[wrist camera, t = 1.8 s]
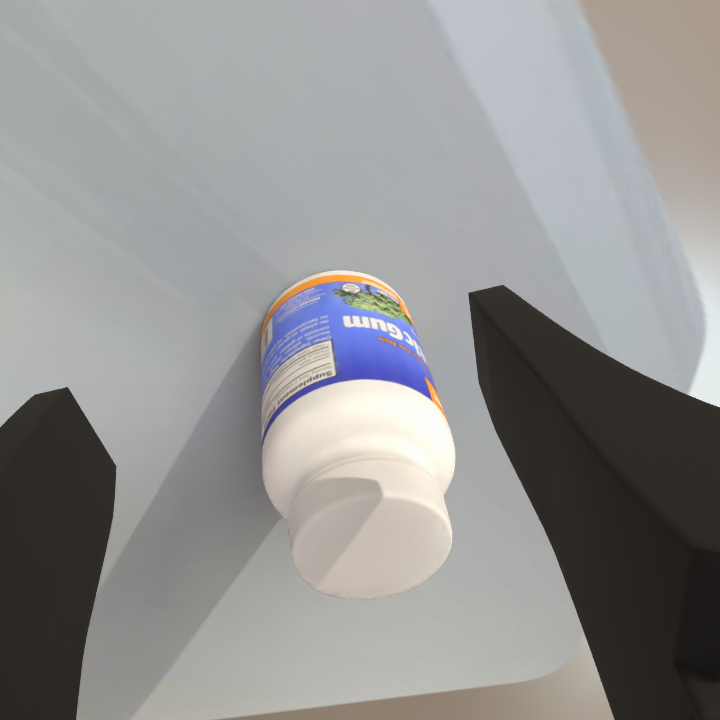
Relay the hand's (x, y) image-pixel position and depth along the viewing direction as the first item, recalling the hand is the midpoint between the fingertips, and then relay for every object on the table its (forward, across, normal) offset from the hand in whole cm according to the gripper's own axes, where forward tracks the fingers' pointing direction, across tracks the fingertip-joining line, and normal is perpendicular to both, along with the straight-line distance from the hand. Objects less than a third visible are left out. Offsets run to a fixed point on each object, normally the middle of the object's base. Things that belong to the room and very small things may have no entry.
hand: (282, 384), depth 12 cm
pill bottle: (+11, 0, +6) cm, 12 cm away
